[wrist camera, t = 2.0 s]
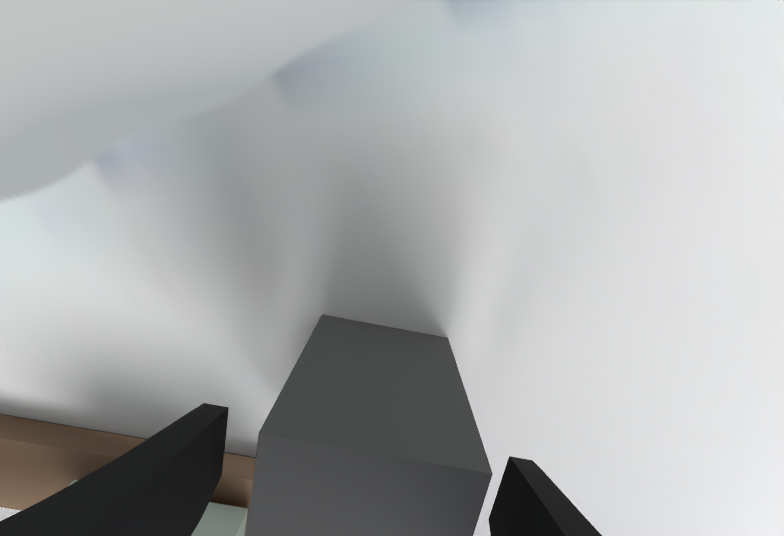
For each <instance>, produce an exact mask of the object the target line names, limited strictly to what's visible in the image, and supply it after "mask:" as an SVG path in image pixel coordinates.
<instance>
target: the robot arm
mask: <svg viewBox="0 0 784 536" xmlns="http://www.w3.org/2000/svg"><path fill="white" fill-rule="evenodd" d="M227 418H228V407H222V406H217V405H211V404H205V403H204V404H202V405H201V406H199V407H197V408H196V409H194V410H193V411H191V412H189V413H188V414H186V415H185V416H183V417H181V418H180V419H178V420H177V421H175V422H174V423H172V424H171V425H169V426H167V427H166V428H164V429H163V430H161V431H160V432H158V433H156V434H155V435H153V436H152V437H150V438H149V439H147V440H145V441H144V442H142V443H141V444H139V445H137V446H136V447H134V448H132V449H131V450H129V451H128V452H126V453H124V454H123V455H121V456H119V457H118V458H116V459H115V460H113V461H111V462H109V463H108V464H106V465H104V466H102V467H101V468H99V469H97V470H96V471H94V472H92V473H90V474H89V475H87V476H85V477H83V478H82V479H80V480H78V481H76V482H75V483H73V484H71V485H69V486H68V487H66V488H64V489H62V490H61V491H59V492H57V493H55V494H53V495H51V496H49V497H48V498H46V499H44V500H42V501H40V502H38V503H36V504H34V505H32V506H30V507H28V508H26V509H25V510H23V511H21V512H19V513H17V514H14V515H12V516H10V517H8V518H6V519H4V520H2V521H0V536H191V535H192V533H193V532H194V530H195V528H196V527H197V525H198V523H199V522H200V520H201V518H202V516H203V514H204V512H205V510H206V508H207V506H208V504H209V501H210V499H211V497H212V495H213V493H214V491H215V489H216V487H217V484H218V482H219V480H220V478H221V476H222V468H223V458H224V448H225V438H226V428H227ZM489 525H490V532H491V536H602V535H601V534H600V533H599V532H598V531H597V530H596V529H595V528H594V527H593V526H592V525H591V523H590V522H589V521H588V520H587V519H586V518H585V517H584V516H583V515H582V514H581V513H580V511H579V510H578V509H577V508H576V507H575V506H574V505H573V504H572V503H571V501H570V500H569V499H568V498H567V497H566V496H565V495H564V494H563V493H562V492H561V490H560V489H559V488H558V487H557V486H556V485H555V484H554V483H553V482H552V481H551V479H550V478H549V477H548V476H547V475H546V474H545V473H544V472H543V471H542V470H541V469H540V468H539V467H538V466H537V465H536V464H535V463H534V462H533V461H532V460H527V459H521V458H515V457H509V459H508V462H507V465H506V468H505V471H504V474H503V477H502V480H501V483H500V486H499V489H498V493H497V496H496V499H495V502H494V505H493V508H492V511H491V514H490V517H489Z"/></svg>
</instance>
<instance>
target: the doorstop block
mask: <svg viewBox="0 0 784 536" xmlns="http://www.w3.org/2000/svg"><path fill="white" fill-rule="evenodd" d="M491 477H492V471H491V468H490V465H489V462H488V459H487V456H486V453H485V449H484V446H483V443H482V440H481V437H480V434H479V431H478V428H477V425H476V422H475V419H474V416H473V413H472V410H471V407H470V404H469V401H468V398H467V395H466V392H465V389H464V386H463V383H462V380H461V377H460V374H459V371H458V368H457V365H456V361H455V358H454V355H453V352H452V349H451V346H450V343H449V340H448V338H444V337H438V336H433V335H428V334H423V333H417V332H412V331H407V330H401V329H396V328H391V327H385V326H380V325H375V324H369V323H364V322H359V321H353V320H348V319H343V318H338V317H332V316H327V315H322V316H321V318H320V320H319V322H318V324H317V326H316V327H315V329H314V331H313V333H312V335H311V337H310V339H309V340H308V342H307V344H306V346H305V348H304V350H303V352H302V354H301V355H300V357H299V359H298V361H297V363H296V365H295V367H294V368H293V370H292V372H291V374H290V376H289V378H288V380H287V381H286V383H285V385H284V387H283V389H282V391H281V393H280V395H279V396H278V398H277V400H276V402H275V404H274V406H273V408H272V409H271V411H270V413H269V415H268V417H267V419H266V421H265V423H264V424H263V426H262V428H261V430H260V432H259V436H258V444H257V452H256V460H255V467H254V475H253V483H252V491H251V498H250V506H249V514H248V522H247V529H246V536H473V534H474V531H475V527H476V524H477V521H478V518H479V515H480V512H481V509H482V505H483V502H484V499H485V496H486V493H487V490H488V486H489V483H490V480H491Z"/></svg>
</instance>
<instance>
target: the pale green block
mask: <svg viewBox="0 0 784 536" xmlns="http://www.w3.org/2000/svg"><path fill="white" fill-rule="evenodd" d="M76 481H78V480H74V481H73V482H71V483H70V484H69V485H71V484H73V483H75V482H76ZM69 485H68V486H69ZM68 486H67V487H68ZM247 513H248V508H242V507H236V506H230V505H224V504H218V503H211V502H209V504H208V506H207V508H206V510H205V512H204V514H203V516H202V518H201V520H200V522H199V523H198V525H197V527H196V528H195V530H194V532H193V533H192V535H191V536H245V528H246V521H247Z"/></svg>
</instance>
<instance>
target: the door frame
mask: <svg viewBox="0 0 784 536" xmlns="http://www.w3.org/2000/svg"><path fill="white" fill-rule="evenodd" d="M145 440H147V439H141V438H135V437H129V436H124V435H118V434H112V433H106V432H100V431H94V430H88V429H83V428H77V427H71V426H65V425H59V424H53V423H47V422H42V421H36V420H30V419H24V418H18V417H12V416H7V415H1V414H0V507H5V508H11V509H17V510H25V509H26V508H28V507H30V506H32V505H34V504H36V503H38V502H40V501H42V500H44V499H46V498H48V497H49V496H51V495H53V494H55V493H57V492H59V491H61V490H62V489H64V488H66V487H67V486H68V485H69V484H70V483H71V482H73V481H74V480H80V479H82V478H83V477H85V476H87V475H89V474H90V473H92V472H94V471H96V470H97V469H99V468H101V467H102V466H104V465H106V464H108V463H109V462H111V461H113V460H115V459H116V458H118V457H119V456H121V455H123V454H124V453H126V452H128V451H129V450H131V449H132V448H134V447H136V446H137V445H139V444H141V443H142V442H144V441H145ZM255 460H256V458H252V457H246V456H240V455H235V454H229V453H224V458H223V468H222V476H221V478H220V480H219V482H218V484H217V487H216V489H215V491H214V493H213V495H212V497H211V499H210V501H209V502H211V503H218V504H224V505H230V506H236V507H242V508H248V513H247V521H246V528H245V536H246V529H247V522H248V514H249V506H250V498H251V491H252V483H253V475H254V467H255Z"/></svg>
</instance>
